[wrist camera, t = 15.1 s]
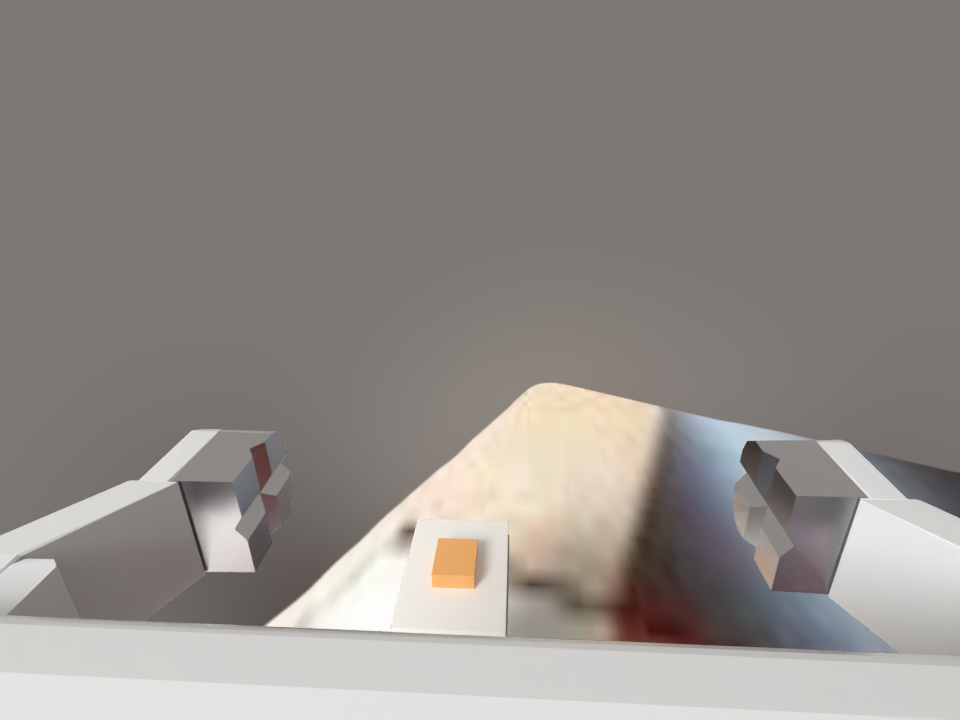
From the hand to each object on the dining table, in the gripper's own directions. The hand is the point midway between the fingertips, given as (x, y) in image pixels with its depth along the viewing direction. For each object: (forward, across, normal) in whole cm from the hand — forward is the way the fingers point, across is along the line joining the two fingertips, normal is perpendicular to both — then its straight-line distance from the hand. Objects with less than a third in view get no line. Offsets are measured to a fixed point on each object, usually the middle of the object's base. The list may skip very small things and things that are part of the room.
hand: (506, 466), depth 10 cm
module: (+12, +3, +28) cm, 31 cm away
